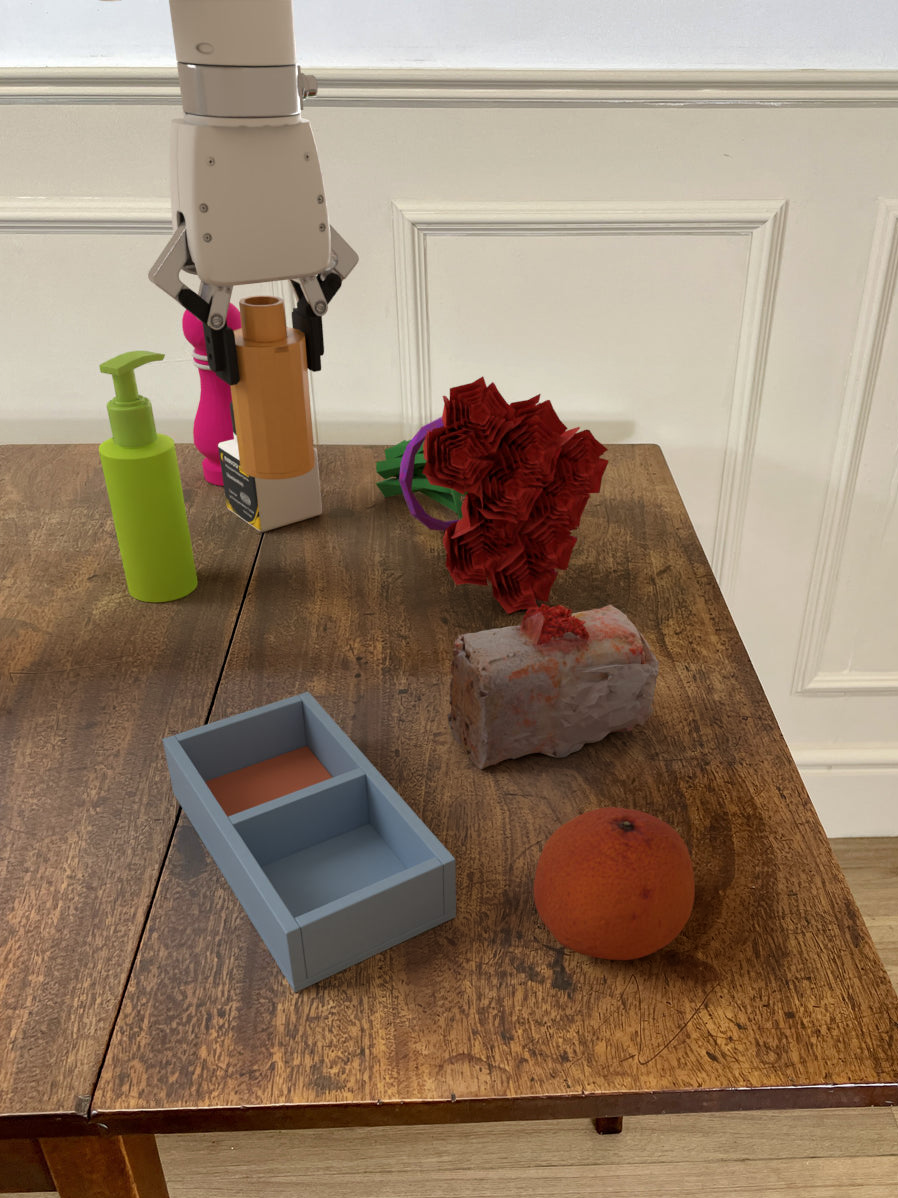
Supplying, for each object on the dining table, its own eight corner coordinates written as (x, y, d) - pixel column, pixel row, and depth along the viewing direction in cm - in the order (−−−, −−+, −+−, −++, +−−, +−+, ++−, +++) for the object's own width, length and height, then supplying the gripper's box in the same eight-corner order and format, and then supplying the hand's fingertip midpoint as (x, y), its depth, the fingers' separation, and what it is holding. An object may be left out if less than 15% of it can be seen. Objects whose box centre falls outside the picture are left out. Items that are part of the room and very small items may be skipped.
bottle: (258, 485, 78) (239, 314, 71) (229, 460, 82) (208, 296, 75) (327, 470, 81) (315, 305, 74) (296, 447, 85) (282, 287, 78)
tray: (294, 993, 55) (286, 933, 53) (173, 794, 69) (161, 738, 66) (456, 917, 60) (455, 858, 58) (314, 744, 73) (308, 690, 71)
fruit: (670, 870, 64) (685, 768, 59) (698, 986, 56) (718, 879, 52) (526, 872, 63) (530, 770, 59) (535, 990, 56) (541, 882, 51)
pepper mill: (185, 478, 111) (153, 284, 100) (235, 457, 116) (209, 270, 105) (233, 494, 108) (205, 295, 97) (282, 472, 113) (261, 281, 102)
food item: (605, 683, 81) (615, 570, 75) (658, 740, 75) (674, 622, 69) (441, 723, 76) (438, 606, 70) (484, 788, 70) (485, 665, 64)
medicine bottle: (225, 509, 105) (209, 393, 98) (288, 492, 109) (275, 378, 102) (260, 534, 101) (245, 414, 94) (323, 515, 105) (313, 398, 98)
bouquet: (465, 529, 117) (623, 589, 92) (328, 561, 110) (460, 636, 85) (445, 347, 109) (612, 360, 85) (296, 368, 102) (432, 390, 78)
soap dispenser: (218, 574, 94) (184, 351, 83) (167, 608, 89) (123, 375, 77) (167, 560, 96) (126, 341, 84) (114, 593, 90) (63, 364, 79)
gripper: (335, 89, 74) (349, 344, 84) (88, 93, 66) (137, 377, 76) (386, 98, 69) (394, 370, 79) (125, 105, 61) (172, 407, 71)
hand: (268, 370), depth 77 cm, fingers closed on bottle, 5 cm apart
